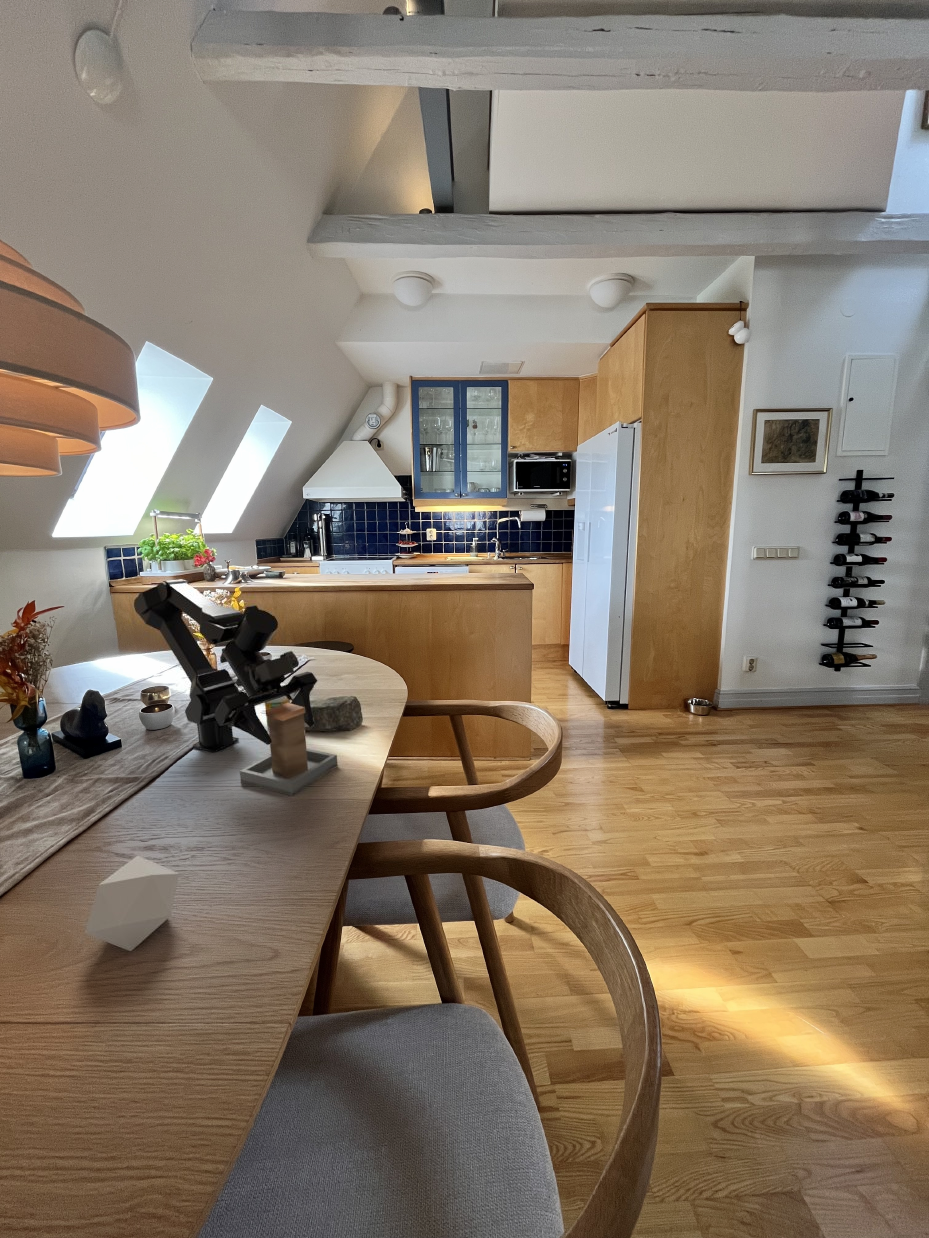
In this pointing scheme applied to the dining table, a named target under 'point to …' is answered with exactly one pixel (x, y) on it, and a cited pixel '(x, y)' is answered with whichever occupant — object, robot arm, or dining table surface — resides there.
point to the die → (132, 903)
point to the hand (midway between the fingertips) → (292, 734)
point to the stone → (335, 714)
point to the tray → (266, 779)
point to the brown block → (287, 739)
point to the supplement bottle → (276, 703)
